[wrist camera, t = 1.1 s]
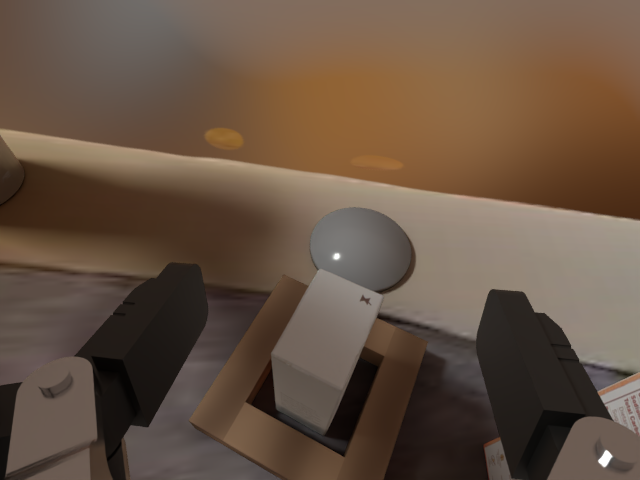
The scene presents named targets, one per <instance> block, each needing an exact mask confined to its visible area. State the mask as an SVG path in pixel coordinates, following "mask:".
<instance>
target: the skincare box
mask: <svg viewBox="0 0 640 480" xmlns="http://www.w3.org/2000/svg"><path fill="white" fill-rule="evenodd" d="M383 299H384V296H383V295H381V294H379V293H376V292H374V291H371V290H369V289H367V288H364V287H362V286H360V285H357V284H355V283H353V282H351V281H348V280H346V279H344V278H342V277H339V276H337V275H335V274H333V273H330V272H328V271H325V270H323V269H319V270H318V272H317V274H316V275H315V277H314V279H313V280H312V282H311V283H310V285H309V287H308V288H307V290H306V292H305V294H304V295H303V297H302V299H301V301H300V303H299V305H298V306H297V308H296V310H295V312H294V314H293V316H292V317H291V319H290V321H289V323H288V324H287V326H286V328H285V330H284V331H283V333H282V335H281V337H280V339H279V340H278V342H277V344H276V346H275V347H274V349H273V351H272V352H271V360H272V370H273V381H274V392H275V403H276V409H277V410H278V411H279V412H281V413H283V414H285V415H287V416H289V417H291V418H292V419H294V420H296V421H297V422H299V423H301V424H303V425H305V426H306V427H308V428H310V429H312V430H313V431H315V432H317V433H319V434H321V435H323V436H324V435H325V434H326V433H327V431H328V429H329V426H330V424H331V422H332V420H333V418H334V416H335V413H336V411H337V409H338V407H339V404H340V402H341V400H342V397H343V395H344V392H345V390H346V388H347V385H348V383H349V380H350V378H351V376H352V373H353V371H354V368H355V366H356V364H357V361H358V359H359V356H360V354H361V352H362V349H363V347H364V345H365V342H366V340H367V338H368V335H369V333H370V331H371V328H372V326H373V324H374V322H375V319H376V317H377V315H378V312H379V310H380V307H381V305H382V302H383Z"/></svg>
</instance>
